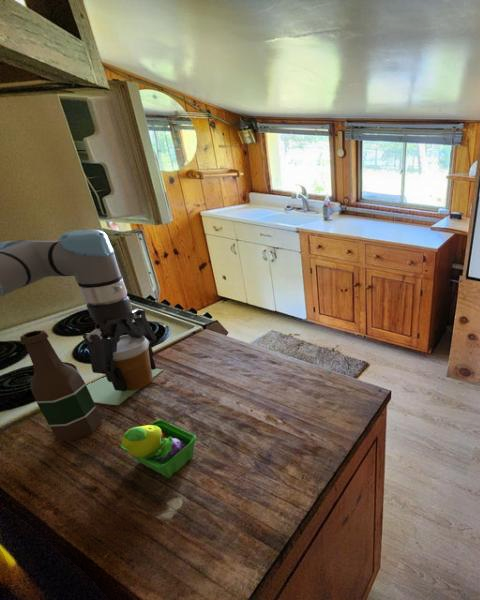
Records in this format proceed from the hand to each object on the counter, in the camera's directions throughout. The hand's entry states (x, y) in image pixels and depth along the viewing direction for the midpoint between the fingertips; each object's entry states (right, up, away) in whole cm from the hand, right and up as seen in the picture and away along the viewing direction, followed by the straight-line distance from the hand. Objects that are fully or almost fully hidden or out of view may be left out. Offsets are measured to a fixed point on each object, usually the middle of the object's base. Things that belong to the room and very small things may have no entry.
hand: (136, 378), depth 84 cm
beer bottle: (-2, -8, -13) cm, 15 cm away
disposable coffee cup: (0, -1, +1) cm, 1 cm away
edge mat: (-5, -1, 0) cm, 5 cm away
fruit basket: (+21, -12, -19) cm, 31 cm away
